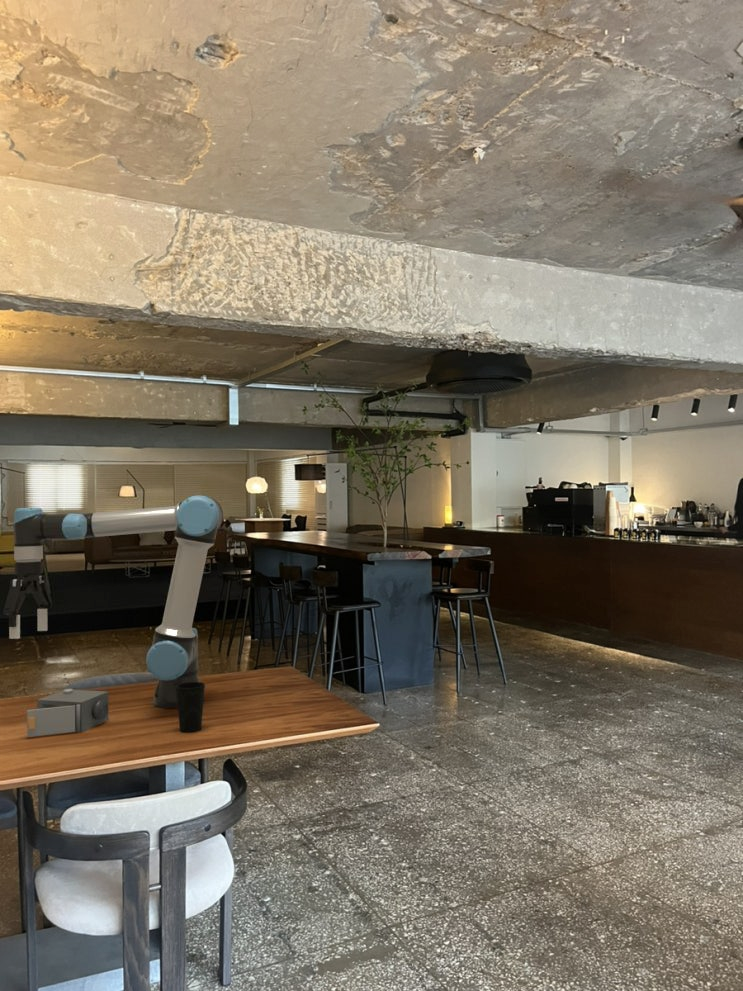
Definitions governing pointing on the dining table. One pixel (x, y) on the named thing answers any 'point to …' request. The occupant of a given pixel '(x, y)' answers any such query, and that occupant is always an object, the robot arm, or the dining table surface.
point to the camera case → (80, 706)
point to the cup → (190, 705)
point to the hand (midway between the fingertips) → (29, 634)
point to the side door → (50, 721)
